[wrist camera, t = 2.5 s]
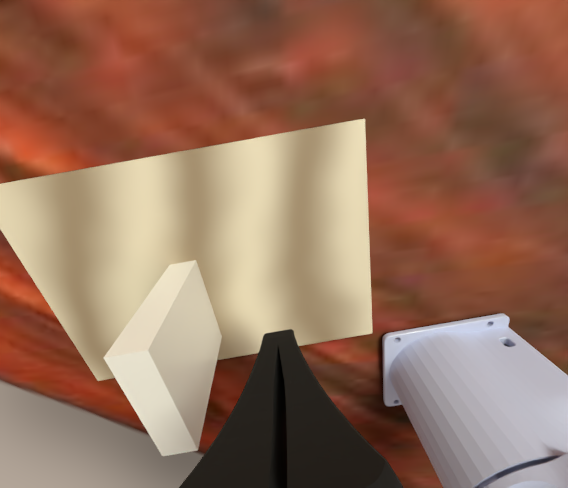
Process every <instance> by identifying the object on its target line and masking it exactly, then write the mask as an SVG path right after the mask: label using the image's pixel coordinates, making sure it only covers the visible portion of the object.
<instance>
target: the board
mask: <svg viewBox="0 0 568 488" xmlns="http://www.w3.org/2000/svg"><path fill="white" fill-rule="evenodd" d="M0 229H1V231H2V232H3V234H4V236H5V237H6V239H7V240H8V242H9V243H10V245H11V247H12V248H13V250H14V251H15V253H16V254H17V256H18V257H19V259H20V261H21V262H22V264H23V265H24V267H25V268H26V270H27V271H28V273H29V275H30V276H31V278H32V279H33V281H34V282H35V284H36V285H37V287H38V289H39V290H40V292H41V293H42V295H43V296H44V298H45V299H46V301H47V303H48V304H49V306H50V307H51V309H52V310H53V312H54V313H55V315H56V317H57V318H58V320H59V321H60V323H61V324H62V326H63V327H64V329H65V331H66V332H67V334H68V335H69V337H70V338H71V340H72V341H73V343H74V345H75V346H76V348H77V349H78V351H79V352H80V354H81V355H82V357H83V359H84V360H85V362H86V363H87V365H88V366H89V368H90V369H91V371H92V373H93V374H94V376H95V377H96V379H97V380H98V381H99V380H105V379H111V378H115V376H114V375H113V373H112V371H111V370H110V368H109V366H108V365H107V363H106V361H105V360H104V356H105V355H106V354H107V352H108V351H109V349H110V348H111V347H112V345H113V344H114V342H115V341H116V340H117V338H118V337H119V335H120V334H121V333H122V331H123V330H124V328H125V327H126V325H127V324H128V323H129V321H130V320H131V318H132V317H133V316H134V314H135V313H136V311H137V310H138V309H139V307H140V306H141V304H142V303H143V302H144V300H145V299H146V297H147V296H148V295H149V293H150V292H151V290H152V289H153V287H154V286H155V285H156V283H157V282H158V280H159V279H160V278H161V276H162V275H163V273H164V272H165V271H166V269H167V268H168V266H169V265H171V264H177V263H182V262H188V261H194V260H196V261H197V264H198V267H199V270H200V273H201V276H202V279H203V282H204V285H205V288H206V291H207V294H208V297H209V300H210V303H211V306H212V309H213V312H214V315H215V318H216V321H217V324H218V327H219V330H220V333H221V335H222V339H221V344H220V348H219V353H218V358H217V360H221V359H226V358H232V357H238V356H244V355H250V354H255V353H259V350H260V347H261V343H262V339H263V336H264V334H265V333H271V332H277V331H282V330H288V329H292V330H293V331H294V335H295V338H296V341H297V344H298V346H302V345H307V344H313V343H319V342H325V341H330V340H336V339H342V338H348V337H354V336H359V335H365V334H371V333H372V305H371V277H370V248H369V220H368V192H367V164H366V136H365V119H359V120H353V121H348V122H342V123H337V124H331V125H325V126H320V127H314V128H309V129H303V130H298V131H292V132H286V133H281V134H275V135H270V136H264V137H259V138H253V139H247V140H242V141H236V142H231V143H225V144H220V145H214V146H208V147H203V148H197V149H192V150H186V151H181V152H175V153H169V154H164V155H158V156H153V157H147V158H142V159H136V160H130V161H125V162H119V163H114V164H108V165H103V166H97V167H91V168H86V169H80V170H75V171H69V172H64V173H58V174H52V175H47V176H41V177H36V178H30V179H25V180H19V181H13V182H8V183H2V184H0Z"/></svg>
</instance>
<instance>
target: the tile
mask: <svg viewBox="0 0 568 488" xmlns="http://www.w3.org/2000/svg"><path fill="white" fill-rule="evenodd" d="M221 339H222V335H221V333H220V330H219V327H218V324H217V321H216V318H215V315H214V312H213V309H212V306H211V303H210V300H209V297H208V294H207V291H206V288H205V285H204V282H203V279H202V276H201V273H200V270H199V267H198V264H197V261H196V260H194V261H188V262H182V263H177V264H171V265H169V266H168V268H167V269H166V271H165V272H164V273H163V275H162V276H161V278H160V279H159V280H158V282H157V283H156V285H155V286H154V287H153V289H152V290H151V292H150V293H149V295H148V296H147V297H146V299H145V300H144V302H143V303H142V304H141V306H140V307H139V309H138V310H137V311H136V313H135V314H134V316H133V317H132V318H131V320H130V321H129V323H128V324H127V325H126V327H125V328H124V330H123V331H122V333H121V334H120V335H119V337H118V338H117V340H116V341H115V342H114V344H113V345H112V347H111V348H110V349H109V351H108V352H107V354H106V355H105V356H104V360H105V361H106V363H107V365H108V366H109V368H110V370H111V371H112V373H113V375H114V376H115V378H116V380H117V381H118V383H119V385H120V386H121V388H122V390H123V391H124V393H125V395H126V396H127V398H128V400H129V401H130V403H131V405H132V406H133V408H134V410H135V411H136V413H137V415H138V416H139V418H140V420H141V421H142V423H143V425H144V426H145V428H146V430H147V431H148V433H149V435H150V436H151V438H152V440H153V441H154V443H155V445H156V446H157V448H158V450H159V451H160V453H161V455H162V456H168V455H174V454H180V453H185V452H191V451H197V450H198V448H199V443H200V438H201V433H202V429H203V424H204V419H205V415H206V410H207V405H208V400H209V396H210V391H211V386H212V381H213V377H214V372H215V367H216V363H217V358H218V353H219V348H220V344H221Z"/></svg>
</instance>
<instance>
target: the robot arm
mask: <svg viewBox="0 0 568 488" xmlns="http://www.w3.org/2000/svg"><path fill="white" fill-rule="evenodd" d="M508 324H509V317H508V316H506V315H505V314H495V315H489V316H484V317H478V318H472V319H466V320H461V321H455V322H449V323H443V324H437V325H432V326H426V327H420V328H414V329H409V330H403V331H397V332H391V333H387V334H385V335H384V336H383V339H382V346H383V400H384V403H385V405H386V406H396V405H403V407H404V409H405V411H406V413H407V415H408V417H409V419H410V421H411V423H412V425H413V427H414V429H415V431H416V433H417V435H418V437H419V439H420V441H421V443H422V445H423V447H424V449H425V451H426V453H427V455H428V457H429V459H430V461H431V463H432V465H433V467H434V470H435V472H436V474H437V476H438V478H439V480H440V482H441V484H442V486H443V488H568V375H566V374H565V373H564V372H563V371H562V370H560V369H559V368H558V367H557V366H555V365H554V364H553V363H552V362H551V361H549V360H548V359H547V358H546V357H544V356H543V355H542V354H541V353H540V352H538V351H537V350H536V349H535V348H533V347H532V346H531V345H530V344H528V343H527V342H526V341H525V340H524V339H522V338H521V337H520V336H519V335H517V334H516V333H515V332H514V331H513V330H511V329H510V328H509V327H508ZM397 337H398V338H397ZM395 338H396V339H395ZM179 488H403V486H402V484H401V482H400V481H399V479H398V477H397V476H396V474H395V473H394V471H393V470H392V468H391V466H390V465H389V463H388V462H387V460H386V459H385V458H384V457H383V456H382V455H381V454H380V453H379V452H378V451H376V450H375V449H374V448H373V447H372V446H371V445H370V444H369V443H368V442H367V441H366V440H365V439H364V437H363V436H362V435H361V434H360V433H359V432H358V431H357V430H356V429H355V428H354V427H353V426H352V425H351V423H350V422H349V421H348V420H347V419H346V418H345V416H344V415H343V414H342V413H341V412H340V411H339V409H338V408H337V407H336V406H335V404H334V403H333V402H332V401H331V399H330V398H329V397H328V395H327V394H326V392H325V391H324V390H323V388H322V387H321V385H320V384H319V382H318V381H317V379H316V378H315V376H314V374H313V373H312V371H311V370H310V368H309V366H308V364H307V362H306V361H305V359H304V357H303V355H302V353H301V351H300V349H299V346H298V344H297V341H296V338H295V335H294V331H293V330H292V329H288V330H282V331H277V332H271V333H265V334H264V336H263V339H262V343H261V347H260V350H259V353H258V356H257V359H256V361H255V364H254V367H253V369H252V372H251V374H250V377H249V379H248V381H247V383H246V385H245V388H244V390H243V392H242V394H241V396H240V398H239V400H238V402H237V404H236V406H235V407H234V409H233V411H232V413H231V415H230V416H229V418H228V420H227V421H226V423H225V425H224V426H223V428H222V430H221V431H220V433H219V434H218V436H217V437H216V439H215V440H214V442H213V443H212V445H211V446H210V448H209V449H208V450H207V452H206V453H205V455H204V456H203V457H202V459H201V460H200V462H199V463H198V464H197V466H196V467H195V468H194V470H193V471H192V472H191V473H190V475H189V476H188V477H187V478H186V480H185V481H184V482H183V483H182V485H181V486H180V487H179Z"/></svg>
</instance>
